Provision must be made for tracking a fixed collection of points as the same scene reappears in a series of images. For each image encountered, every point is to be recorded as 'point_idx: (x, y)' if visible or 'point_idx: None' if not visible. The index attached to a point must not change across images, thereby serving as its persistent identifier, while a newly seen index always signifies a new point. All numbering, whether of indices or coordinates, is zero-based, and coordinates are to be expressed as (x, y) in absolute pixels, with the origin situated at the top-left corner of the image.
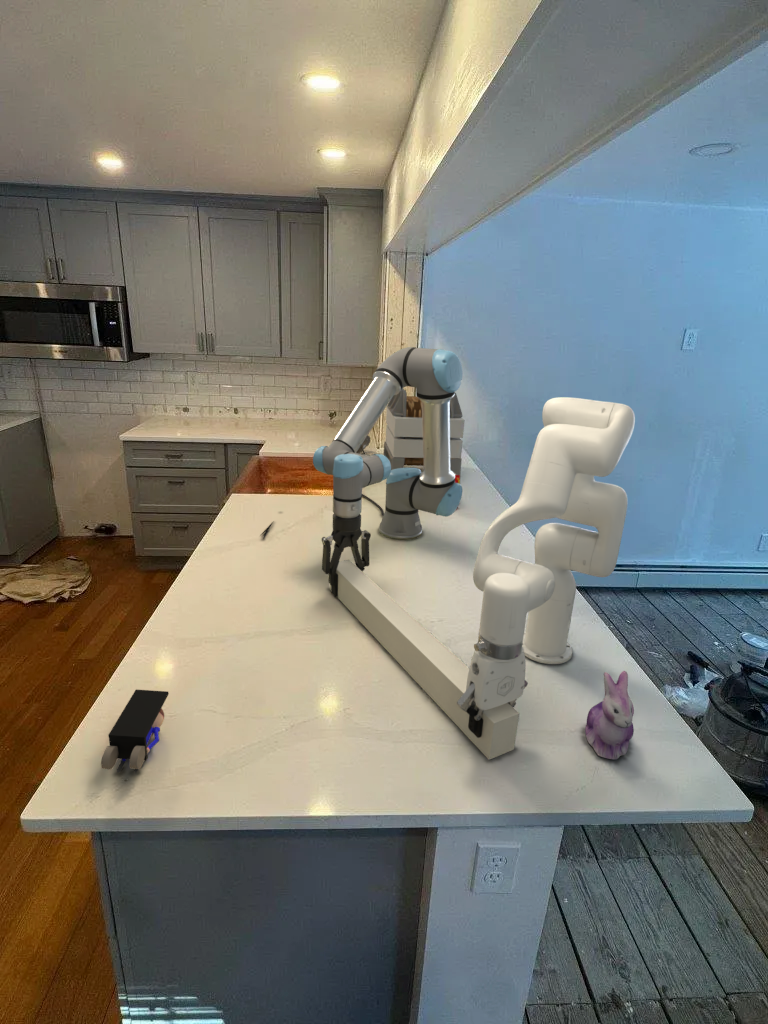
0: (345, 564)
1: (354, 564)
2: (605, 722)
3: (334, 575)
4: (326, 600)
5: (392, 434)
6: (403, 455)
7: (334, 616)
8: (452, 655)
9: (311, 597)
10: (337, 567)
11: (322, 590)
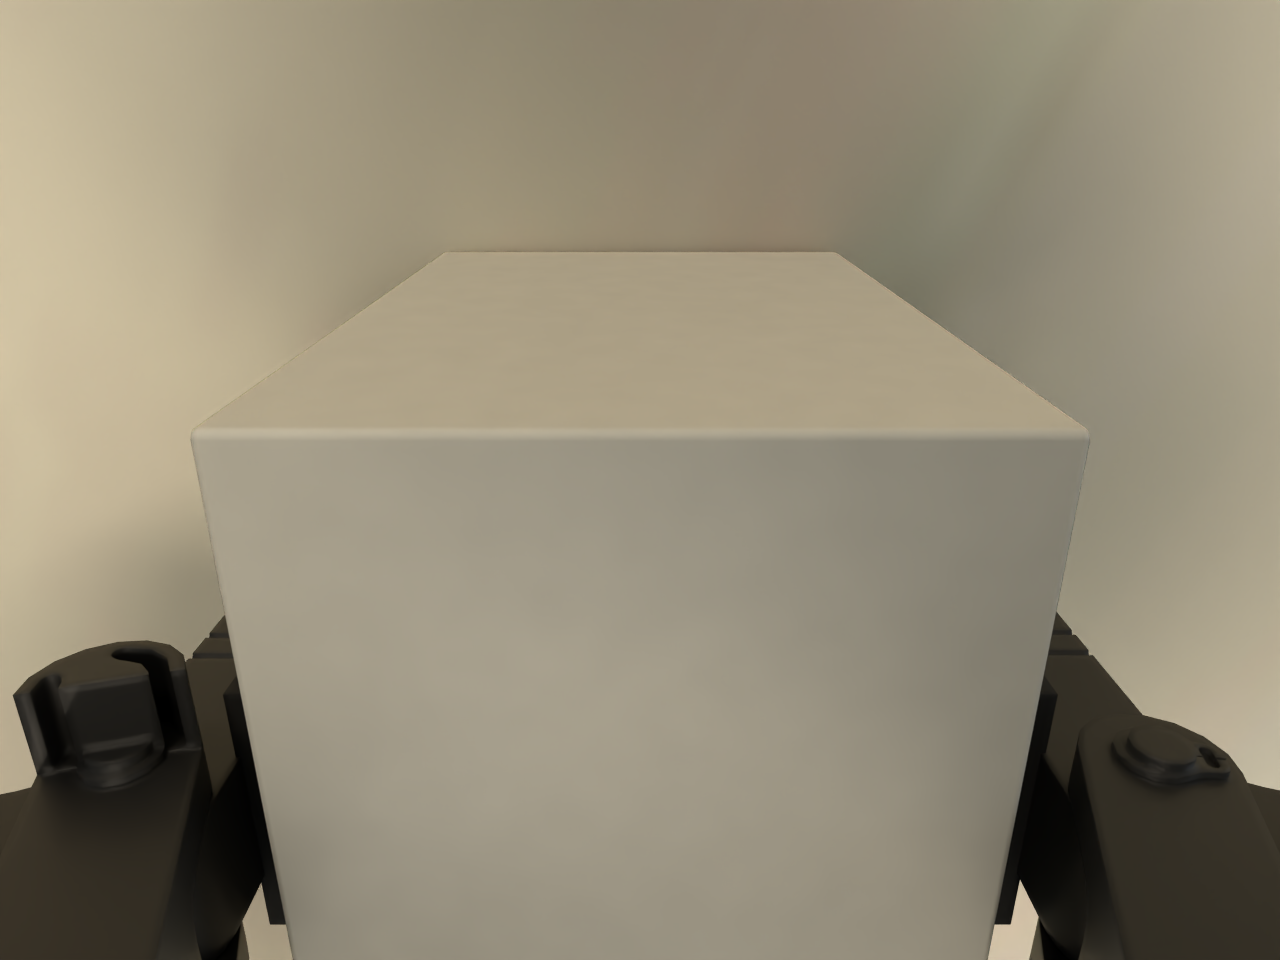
0: (717, 772)
1: (1004, 866)
2: None
3: (268, 853)
4: None
5: None
6: None
7: (267, 953)
8: None
9: (49, 405)
10: (357, 861)
11: (299, 241)
